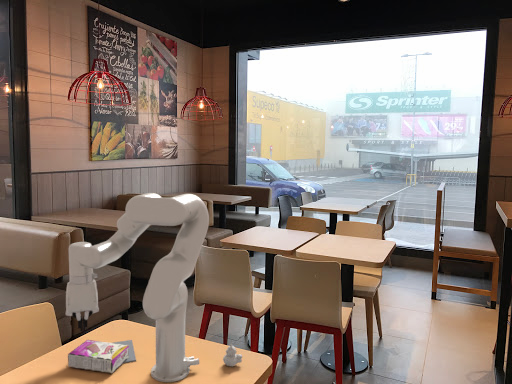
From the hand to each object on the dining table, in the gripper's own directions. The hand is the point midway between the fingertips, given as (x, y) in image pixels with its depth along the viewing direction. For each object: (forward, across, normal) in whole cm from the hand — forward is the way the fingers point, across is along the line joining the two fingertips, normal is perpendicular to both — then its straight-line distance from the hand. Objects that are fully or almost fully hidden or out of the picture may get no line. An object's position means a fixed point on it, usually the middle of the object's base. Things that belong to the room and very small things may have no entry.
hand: (82, 329), depth 148 cm
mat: (+10, -8, 0) cm, 14 cm away
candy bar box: (+7, +2, +1) cm, 8 cm away
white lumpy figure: (+11, -48, +21) cm, 53 cm away
